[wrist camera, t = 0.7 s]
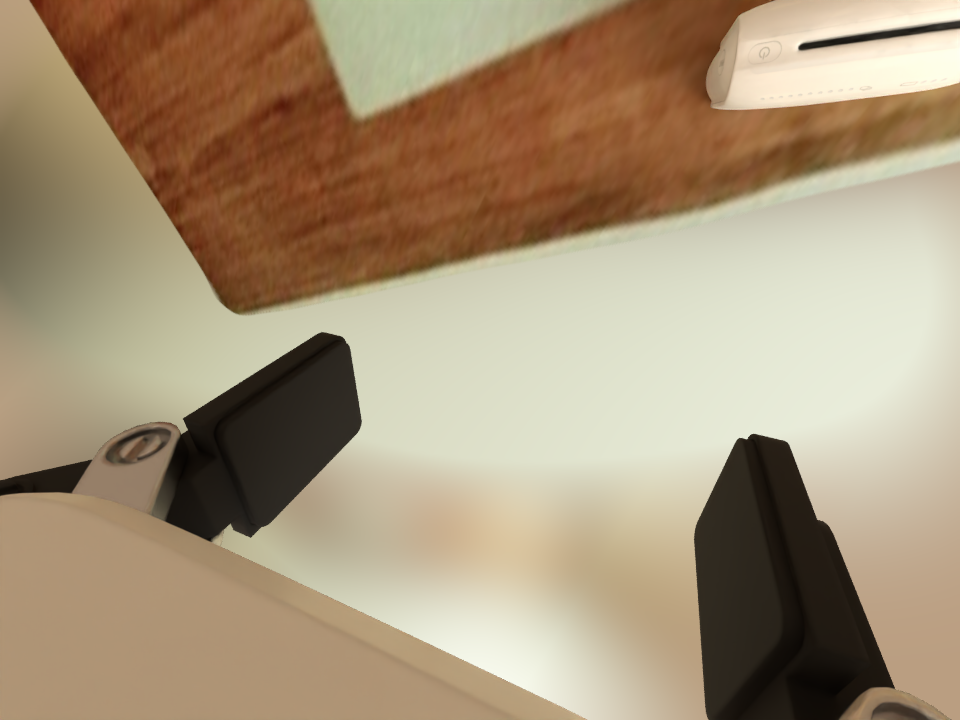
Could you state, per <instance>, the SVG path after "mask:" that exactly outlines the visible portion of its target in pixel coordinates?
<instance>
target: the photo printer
mask: <svg viewBox="0 0 960 720" xmlns="http://www.w3.org/2000/svg"><path fill="white" fill-rule="evenodd" d="M956 83H960V0H775V1H771V2H769V3H766V4H763V5H760V6H758V7H755V8H753V9H751V10H749V11H746V12H744V13H742V14H740V15H739V16H738V17H737V19H736V21H735V22H734V24H733V25H732V27H731V28H730V30H729V31H728V33H727V34H726V36H725V37H724V39H723V40H722V42H721V44H720V50H719V52H718V53H717V55H716V56H715V58H714V59H713V61H712V63H711V65H710V67H709V69H708V72H707V77H706V89H707V93H708V95H709V97H710V99H711V101H712V102H711V105H710V106H711V107H712V108H716V109H724V110H746V109H765V108H780V107H792V106H803V105H812V104H821V103H830V102H838V101H846V100H854V99H862V98H870V97H879V96H887V95H895V94H903V93H910V92H918V91H924V90H931V89H936V88H940V87H945V86H949V85H953V84H956Z"/></svg>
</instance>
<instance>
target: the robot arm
mask: <svg viewBox="0 0 960 720" xmlns="http://www.w3.org/2000/svg"><path fill="white" fill-rule="evenodd" d="M183 420H184V422H185V424H186V427H187V428H188V431H186V432H185V433H183V434H182V435H181V433H180V431H179V429H178V427H177V426H176V425H174V424H172V423H167V422H154V423H147V424H143V425H139V426H136V427H133V428H131V429H128V430H125V431H123V432H122V433H120V434H118V435H116V436H114V437H113V438H111V439H110V440H109V441H107V442H106V443H105V444H104V445H103V446H102V447H101V448H100V449H99V451H98V452H97V454H96V455H95V457H94V458H93V460H88V461H84V462H80V463H75V464H70V465H66V466H61V467H56V468H52V469H47V470H43V471H39V472H34V473H29V474H25V475H20V476H15V477H12V478H8V479H5V480H0V720H587V719H585V718H582V717H580V716H579V715H576V714H575V713H572V712H571V711H568V710H567V709H565V708H562V707H560V706H558V705H556V704H554V703H552V702H550V701H548V700H546V699H544V698H541V697H539V696H537V695H535V694H533V693H531V692H529V691H527V690H525V689H522V688H520V687H518V686H516V685H514V684H512V683H510V682H508V681H506V680H504V679H502V678H499V677H497V676H495V675H493V674H491V673H489V672H486V671H484V670H482V669H480V668H478V667H476V666H474V665H472V664H470V663H468V662H466V661H464V660H462V659H459V658H457V657H455V656H453V655H451V654H449V653H446V652H445V651H442V650H441V649H438V648H436V647H434V646H432V645H430V644H428V643H426V642H423V641H421V640H419V639H417V638H415V637H413V636H411V635H409V634H407V633H405V632H402V631H400V630H398V629H396V628H394V627H392V626H390V625H388V624H385V623H383V622H381V621H379V620H377V619H375V618H372V617H370V616H368V615H366V614H364V613H362V612H360V611H357V610H356V609H353V608H351V607H349V606H347V605H345V604H343V603H341V602H339V601H336V600H334V599H332V598H330V597H328V596H326V595H324V594H321V593H319V592H317V591H315V590H313V589H311V588H309V587H306V586H304V585H302V584H300V583H298V582H295V581H294V580H291V579H289V578H287V577H285V576H283V575H281V574H279V573H276V572H274V571H272V570H270V569H268V568H266V567H263V566H261V565H259V564H257V563H255V562H253V561H250V560H248V559H246V558H244V557H242V556H240V555H237V554H235V553H233V552H231V551H229V550H226V549H224V548H222V547H221V543H222V538H223V534H224V529H225V528H226V527H227V526H228V525H229V524H230V523H231V525H232V527H233V530H235V531H237V532H239V533H242V534H244V535H246V536H248V537H250V538H251V537H252V536H253V535H254V534H255V533H256V532H257V531H258V530H259V529H260V528H261V527H264V526H266V525H268V524H269V523H271V522H272V521H273V520H274V519H275V518H276V517H277V515H278V514H279V513H280V512H281V511H282V510H283V509H284V508H285V507H286V506H287V505H288V504H289V503H290V502H291V501H292V500H293V499H294V498H295V497H296V496H297V495H298V494H299V493H300V492H301V491H302V490H303V489H304V488H305V487H306V486H307V485H308V484H309V483H310V481H311V480H312V479H313V478H314V477H315V476H316V475H317V474H318V473H319V472H320V471H321V470H322V469H323V468H324V467H325V466H326V465H327V464H328V463H329V462H330V461H331V460H332V459H333V458H334V457H335V456H336V455H337V454H338V453H339V452H340V451H341V449H342V448H343V447H344V446H345V445H346V444H347V443H348V442H349V441H350V440H351V439H352V438H353V437H354V436H355V435H356V434H357V433H358V431H359V429H360V427H361V422H362V420H361V414H360V408H359V401H358V395H357V389H356V383H355V376H354V370H353V364H352V358H351V351H350V347H349V345H348V344H347V343H346V341H345V339H344V338H343V337H341V336H337V335H333V334H329V333H324V332H321V333H319V334H317V335H315V336H314V337H312V338H310V339H309V340H307V341H306V342H304V343H302V344H301V345H299V346H298V347H296V348H294V349H293V350H291V351H290V352H288V353H286V354H285V355H283V356H282V357H280V358H279V359H277V360H275V361H274V362H272V363H271V364H269V365H267V366H266V367H264V368H263V369H261V370H259V371H258V372H256V373H255V374H253V375H251V376H250V377H249V378H247V379H245V380H244V381H242V382H240V383H239V384H237V385H236V386H234V387H232V388H231V389H229V390H228V391H226V392H225V393H223V394H221V395H220V396H218V397H217V398H215V399H213V400H212V401H210V402H209V403H207V404H205V405H204V406H202V407H201V408H199V409H198V410H196V411H195V412H193V413H191V414H189V415H188V416H186V417H185V418H183ZM694 544H695V557H696V573H697V588H698V603H699V616H700V617H699V618H700V633H701V648H702V663H703V677H704V691H705V692H704V693H705V707H706V714H707V717H708V719H709V720H951V719H950V718H948V717H947V716H946V715H944V714H943V713H942V712H940V711H938V709H936V708H935V707H934V706H932V705H930V704H928V703H926V702H924V701H923V700H920V699H919V698H917V697H915V696H913V695H911V694H909V693H905V692H903V691H899V690H896V689H895V687H894V685H893V682H892V680H891V677H890V675H889V672H888V670H887V667H886V665H885V662H884V660H883V657H882V655H881V652H880V650H879V647H878V645H877V642H876V640H875V637H874V635H873V632H872V630H871V627H870V625H869V622H868V620H867V617H866V615H865V613H864V610H863V607H862V605H861V603H860V600H859V597H858V595H857V592H856V590H855V587H854V585H853V582H852V580H851V578H850V575H849V572H848V570H847V568H846V565H845V562H844V560H843V557H842V555H841V552H840V550H839V547H838V545H837V542H836V540H835V537H834V535H833V533H832V531H831V529H830V527H829V526H828V525H827V524H826V523H824V522H823V521H820V520H817V518H816V515H815V513H814V510H813V508H812V505H811V502H810V499H809V497H808V494H807V491H806V489H805V486H804V483H803V481H802V478H801V475H800V473H799V470H798V467H797V465H796V462H795V459H794V457H793V454H792V451H791V449H790V446H789V444H788V443H787V442H785V441H783V440H778V439H774V438H769V437H765V436H761V435H757V434H751V435H750V436H749V437H748V439H743V438H739V439H738V440H737V441H736V443H735V445H734V447H733V449H732V451H731V453H730V455H729V457H728V459H727V461H726V463H725V466H724V468H723V470H722V472H721V474H720V476H719V478H718V480H717V482H716V484H715V486H714V488H713V491H712V493H711V495H710V497H709V499H708V501H707V503H706V505H705V507H704V509H703V512H702V514H701V516H700V518H699V520H698V522H697V525H696V528H695V536H694Z"/></svg>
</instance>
